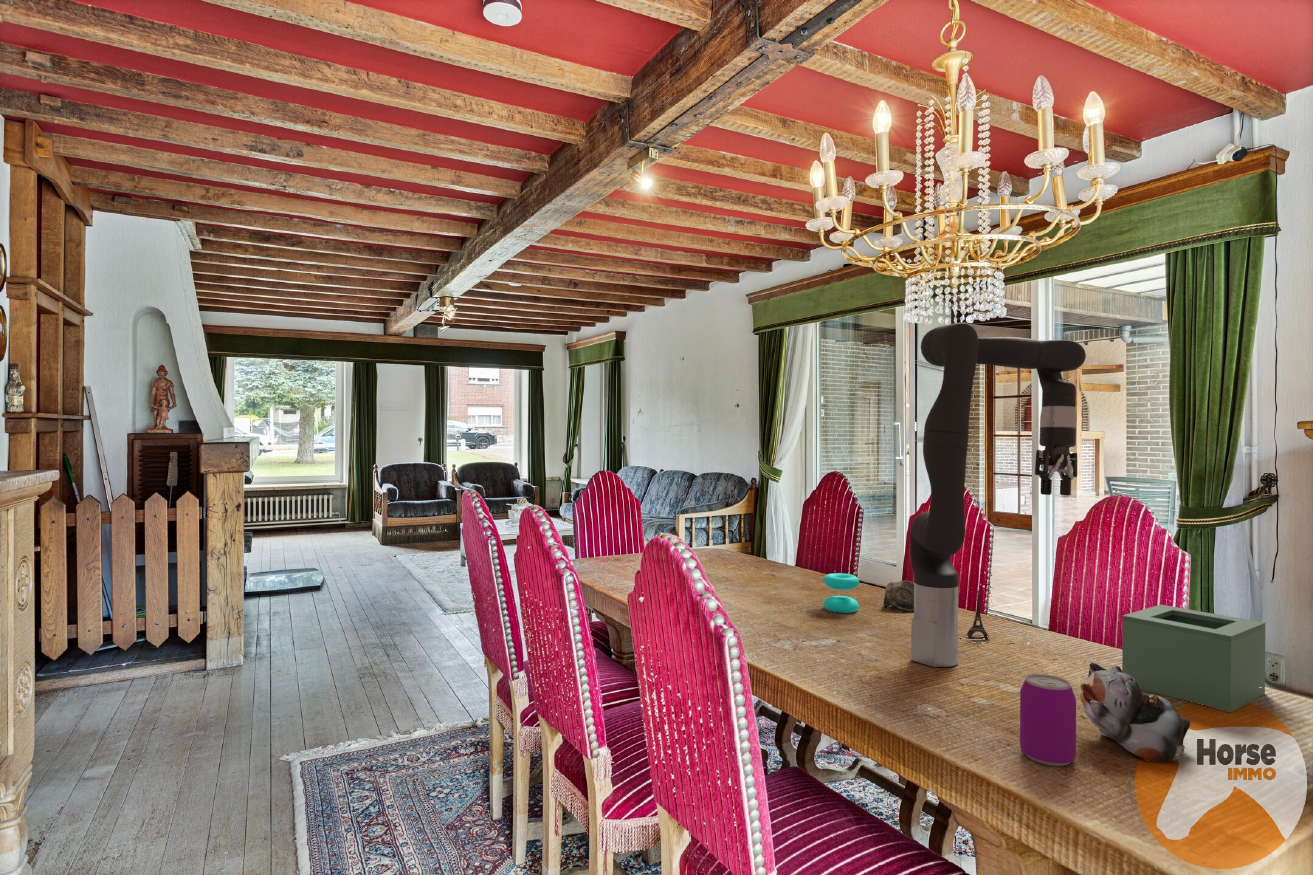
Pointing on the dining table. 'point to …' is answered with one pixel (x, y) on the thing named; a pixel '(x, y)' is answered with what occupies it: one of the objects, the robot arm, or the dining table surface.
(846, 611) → the donuts
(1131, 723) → the lucky cat figurine
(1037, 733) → the beverage can
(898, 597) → the fossil
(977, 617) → the eiffel tower figurine
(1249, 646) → the box
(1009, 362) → the robot arm
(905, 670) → the dining table surface
